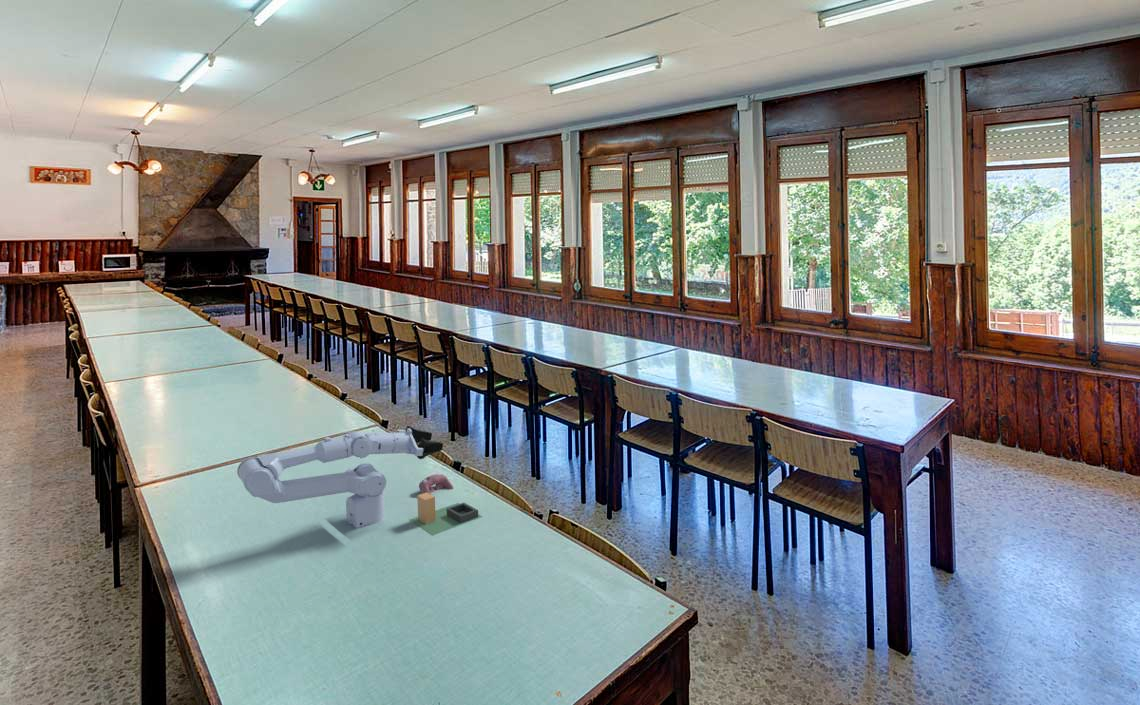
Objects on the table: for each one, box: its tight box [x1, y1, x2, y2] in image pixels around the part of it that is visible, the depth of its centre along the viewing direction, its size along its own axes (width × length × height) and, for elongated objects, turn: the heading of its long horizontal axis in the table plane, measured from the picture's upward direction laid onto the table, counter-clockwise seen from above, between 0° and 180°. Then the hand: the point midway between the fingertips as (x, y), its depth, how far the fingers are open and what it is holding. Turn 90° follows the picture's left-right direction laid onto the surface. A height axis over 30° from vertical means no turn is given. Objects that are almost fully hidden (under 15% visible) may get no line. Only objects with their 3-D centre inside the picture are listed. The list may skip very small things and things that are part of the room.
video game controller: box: [418, 473, 454, 495], centre depth 186 cm, size 10×5×7 cm, turn 141°
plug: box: [416, 493, 436, 524], centre depth 166 cm, size 3×4×7 cm
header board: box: [409, 502, 483, 536], centre depth 168 cm, size 16×12×3 cm
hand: (436, 441), depth 176 cm, fingers open, 7 cm apart
